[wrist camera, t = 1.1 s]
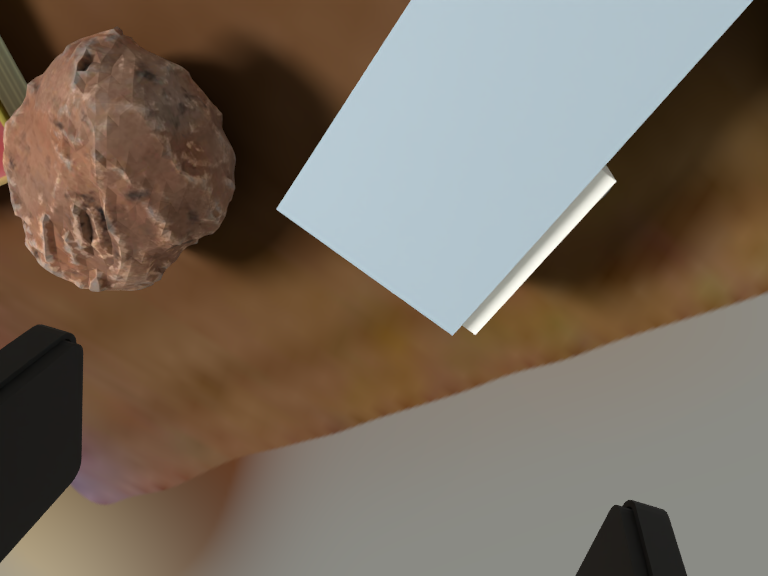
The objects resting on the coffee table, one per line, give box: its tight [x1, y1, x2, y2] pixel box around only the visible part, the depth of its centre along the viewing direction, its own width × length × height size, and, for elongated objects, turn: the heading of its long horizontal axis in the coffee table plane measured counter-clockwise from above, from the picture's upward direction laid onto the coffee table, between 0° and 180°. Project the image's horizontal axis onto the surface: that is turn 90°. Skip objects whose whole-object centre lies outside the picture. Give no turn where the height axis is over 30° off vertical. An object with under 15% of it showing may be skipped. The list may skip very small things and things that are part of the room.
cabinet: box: [276, 0, 753, 336], centre depth 29 cm, size 22×12×8 cm, turn 145°
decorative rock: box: [3, 27, 236, 292], centre depth 33 cm, size 13×11×10 cm
